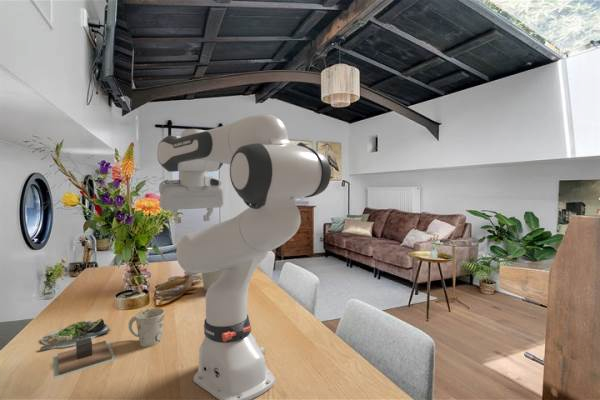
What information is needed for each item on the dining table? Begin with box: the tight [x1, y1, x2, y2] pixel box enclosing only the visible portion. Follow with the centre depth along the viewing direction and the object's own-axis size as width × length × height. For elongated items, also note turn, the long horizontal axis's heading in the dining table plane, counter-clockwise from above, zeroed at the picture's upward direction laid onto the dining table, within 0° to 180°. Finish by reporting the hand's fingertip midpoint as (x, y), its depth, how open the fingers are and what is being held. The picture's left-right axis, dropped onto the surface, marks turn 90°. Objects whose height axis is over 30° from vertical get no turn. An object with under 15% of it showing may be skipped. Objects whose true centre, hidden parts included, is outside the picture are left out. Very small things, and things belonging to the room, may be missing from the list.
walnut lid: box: [57, 337, 112, 375], centre depth 90 cm, size 12×12×5 cm
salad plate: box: [39, 318, 112, 351], centre depth 102 cm, size 19×18×5 cm
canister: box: [201, 270, 223, 292], centre depth 151 cm, size 18×18×21 cm
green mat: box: [52, 340, 117, 379], centre depth 90 cm, size 14×14×1 cm
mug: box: [128, 307, 165, 348], centre depth 99 cm, size 8×13×10 cm, turn 78°
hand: (192, 221), depth 101 cm, fingers open, 8 cm apart
